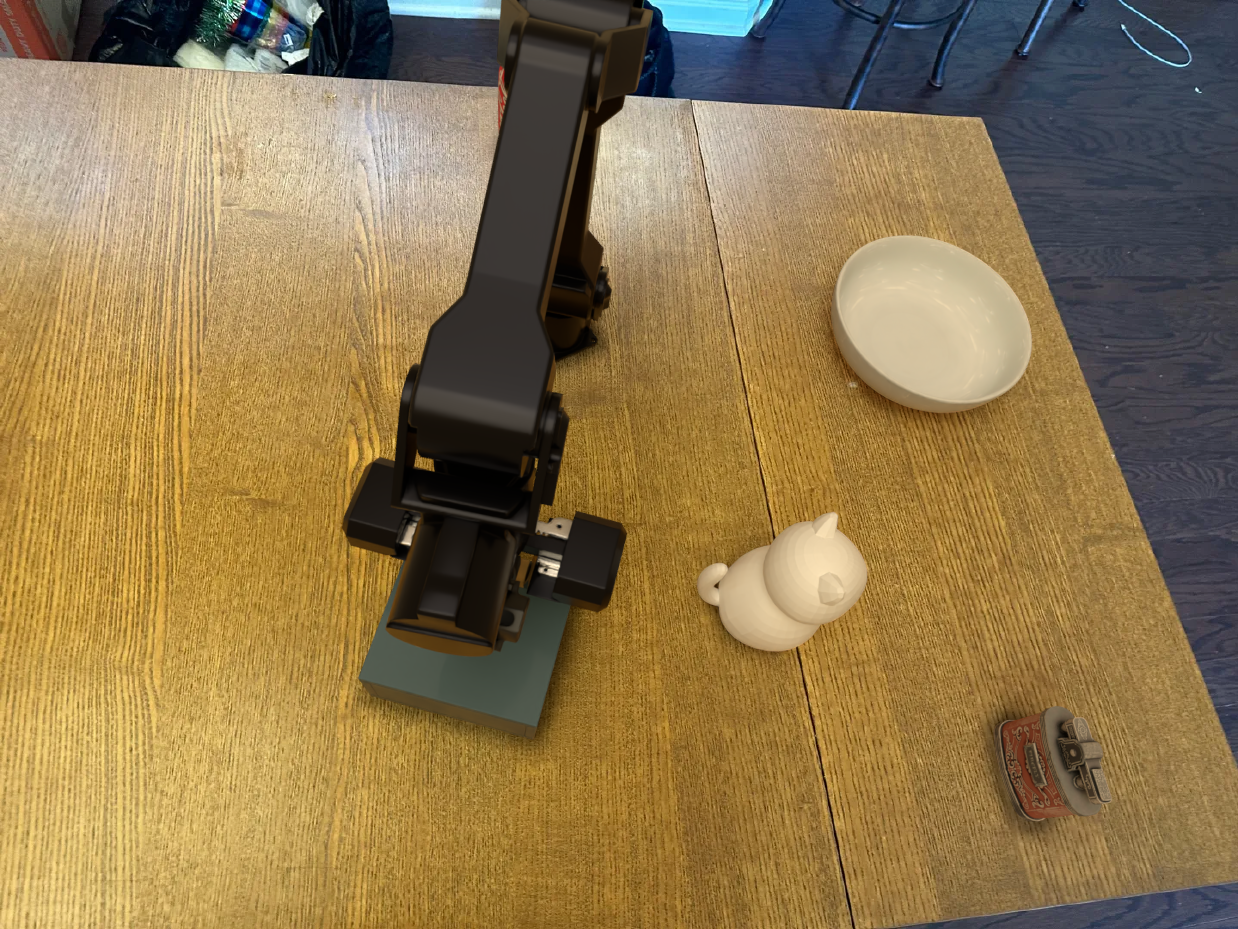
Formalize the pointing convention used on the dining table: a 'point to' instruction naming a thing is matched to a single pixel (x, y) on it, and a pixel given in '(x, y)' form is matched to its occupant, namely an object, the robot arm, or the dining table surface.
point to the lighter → (1051, 765)
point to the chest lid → (476, 665)
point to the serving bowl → (929, 324)
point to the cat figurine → (787, 585)
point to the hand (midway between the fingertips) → (489, 572)
